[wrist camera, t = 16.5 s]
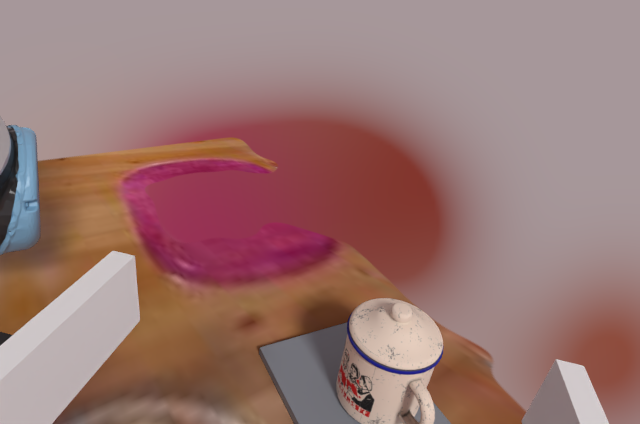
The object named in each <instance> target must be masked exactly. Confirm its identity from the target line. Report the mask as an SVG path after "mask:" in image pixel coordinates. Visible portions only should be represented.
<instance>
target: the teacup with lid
mask: <svg viewBox="0 0 640 424" xmlns="http://www.w3.org/2000/svg"><path fill="white" fill-rule="evenodd" d="M442 354H443V339H442V336H441V333H440V330H439V328H438V327H437V325H436V324H435V322H434V321H433V320H432V319H431V318H430V317H429V316H428V315H427V314H426V313H425V312H423V311H422V310H420V309H419V308H417V307H415V306H413V305H411V304H409V303H406V302H404V301H400V300H396V299H389V298H378V299H372V300H369V301H366V302H364V303H362V304H361V305H359V306H358V307H357V308H356V309H355V310H354V311H353V312H352V314H351V315H350V317H349V319H348V323H347V338H346V342H345V347H344V351H343V355H342V360H341V364H340V368H339V372H338V377H337V382H336V390H337V395H338V398H339V400H340V403H341V404H342V406H343V408H344V409H345V410H346V412H347V413H348V414H349V415H350V416H351V417H353V418H354V419H355V420H356V421H358V422H359V423H361V424H433V423H434V420H435V409H434V404H433V401H432V398H431V396H430V394H429V392H428V390H427V385H428V383H429V380H430V377H431V375H432V372H433V370H434V367H435V366H436V365H437V364H438V362H439V361H440V359H441V357H442ZM419 406H420V411H421V419H420V422H418V421H417V420H416V419H415V418H414V417H415V415H416V413H417V411H418V409H419Z"/></svg>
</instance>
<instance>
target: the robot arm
mask: <svg viewBox="0 0 640 424" xmlns="http://www.w3.org/2000/svg"><path fill="white" fill-rule="evenodd" d="M39 238H40V203H39V181H38V162H37V143H36V135H35V133H34V131H32V130H31V129H29V128H23V127H18V126H17V125H9V126H6V125H5V122H4V121H3V119H2V118H1V117H0V255H1V254H3V253H7V252H14V251H20V250H26V249H29V248H31V247H33V246H34V245H35V244H36V243H37V242H38V240H39ZM139 321H140V313H139V301H138V289H137V277H136V265H135V256H133V255H129V254H125V253H121V252H117V251H112V252H111V253H110V254H108V255H107V256H106V257H105V258H104V259H102V260H101V261H100V262H99V263H98V264H97V265H95V266H94V267H93V268H92V269H91V270H89V271H88V272H87V273H86V274H85V275H83V276H82V277H81V278H80V279H79V280H78V281H76V282H75V283H74V284H73V285H72V286H70V287H69V288H68V289H67V290H66V291H65V292H63V293H62V294H61V295H60V296H59V297H57V298H56V299H55V300H54V301H53V302H51V303H50V304H49V305H48V306H47V307H46V308H44V309H43V310H42V311H41V312H40V313H38V314H37V315H36V316H35V317H34V318H32V319H31V320H30V321H29V322H28V323H27V324H25V325H24V326H23V327H22V328H21V329H19V330H18V331H17V332H16V333H15V334H14V335H10V334H6V333H3V332H0V424H52V423H53V422H54V421H55V420H56V418H57V417H58V416H59V415H60V414H61V413H62V411H63V410H64V409H65V408H66V407H67V406H68V404H69V403H70V402H71V401H72V400H73V398H74V397H75V396H76V395H77V394H78V393H79V391H80V390H81V389H82V388H83V387H84V386H85V384H86V383H87V382H88V381H89V380H90V379H91V377H92V376H93V375H94V374H95V373H96V371H97V370H98V369H99V368H100V367H101V366H102V364H103V363H104V362H105V361H106V360H107V359H108V357H109V356H110V355H111V354H112V353H113V351H114V350H115V349H116V348H117V347H118V346H119V344H120V343H121V342H122V341H123V340H124V339H125V337H126V336H127V335H128V334H129V333H130V332H131V330H132V329H133V328H134V327H135V326H136V324H137V323H138V322H139ZM522 424H609V422H608V420H607V418H606V415H605V413H604V411H603V409H602V407H601V404H600V402H599V400H598V397H597V395H596V393H595V390H594V388H593V386H592V384H591V381H590V379H589V377H588V374H587V372H586V370H585V368H584V366H581V365H577V364H573V363H569V362H565V361H561V360H557V359H556V360H555V362H554V364H553V366H552V367H551V369H550V371H549V373H548V375H547V376H546V378H545V380H544V382H543V384H542V385H541V387H540V389H539V391H538V392H537V394H536V396H535V398H534V400H533V402H532V403H531V405H530V407H529V409H528V410H527V412H526V414H525V416H524V417H523V419H522Z"/></svg>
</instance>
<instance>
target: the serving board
mask: <svg viewBox="0 0 640 424" xmlns="http://www.w3.org/2000/svg"><path fill="white" fill-rule="evenodd" d="M347 323H348V322H347ZM347 323H343V324H340V325H336V326H333V327H329V328H326V329H322V330H319V331H315V332H312V333H308V334H305V335H301V336H298V337H295V338H291V339H288V340H284V341H281V342H277V343H274V344H270V345H267V346H263V347H260V350H259V355H260V357H261V359H262V361H263V363H264V365H265V367H266V369H267V371H268V373H269V375H270V377H271V378H272V380H273V382H274V384H275V386H276V388H277V390H278V392H279V394H280V396H281V398H282V400H283V402H284V404H285V406H286V408H287V410H288V412H289V414H290V416H291V418H292V420H293V422H294V424H361V423H359V422H358V421H356V420H355V419H354V418H353V417H351V416H350V415H349V414H348V413H347V412H346V410H345V409H344V408H343V406H342V404H341V403H340V400H339V398H338V395H337V390H336V382H337V377H338V372H339V368H340V364H341V360H342V355H343V351H344V347H345V342H346V338H347ZM433 404H434V402H433ZM434 409H435V420H434V423H433V424H451V423H450V422H449V421H448V419H447V418H446V417H445V416H444V415H443V413H442V412H441V411H440V410H439V409H438V407H437V406H436V405H435V404H434ZM414 418H415V419H416V420H417V421H418V422H420V419H421V411H420V406H419V409H418V411H417V413H416V415H415V417H414Z"/></svg>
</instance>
